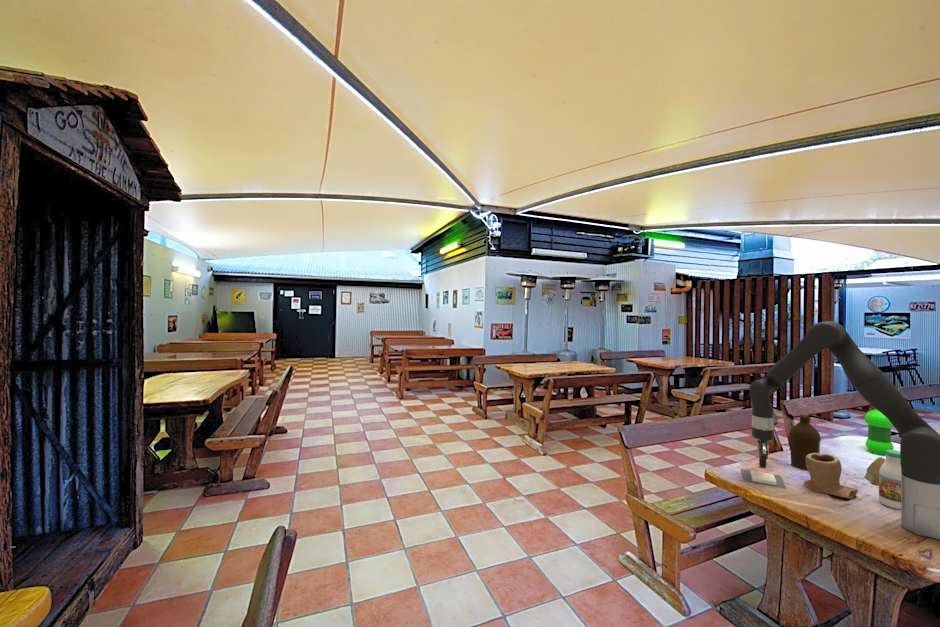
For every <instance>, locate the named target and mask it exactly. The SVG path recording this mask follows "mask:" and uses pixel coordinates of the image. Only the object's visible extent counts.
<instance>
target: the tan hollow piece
mask: <svg viewBox="0 0 940 627" xmlns="http://www.w3.org/2000/svg"><path fill="white" fill-rule="evenodd" d="M805 461H806V467H807V470H808V471H807V470H806V471H807V472H808V474H809V476H810V479H806V480H805V481H803V485H804V486H805V488H808V489H810V490H814V491H817V492H821V493H824V494H828V495H831V496H835V497H839V498H844V499H849V500H850V499H853V498H855V496H857V493H858V492H859V490H858V488H854V487H850V486H845V485H841V483H840V478H841V475H842V464H841V461H840V460H839V458H838V457H837V456H834V455H833V454H830V453H820V454H819V453H811V454H808V455H807V456H806V458H805Z"/></svg>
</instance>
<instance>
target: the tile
mask: <svg viewBox="0 0 940 627" xmlns="http://www.w3.org/2000/svg"><path fill="white" fill-rule="evenodd" d="M756 471H757V470H751V471H750V475H751V479H752V481H753V482H758V483H764V484H769V485H774V486H776V485H777V482H776V479H775V477H774V475H775V474H774V475H773V473H768V472H762V471H757V472H756Z"/></svg>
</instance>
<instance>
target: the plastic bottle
mask: <svg viewBox="0 0 940 627" xmlns="http://www.w3.org/2000/svg"><path fill="white" fill-rule="evenodd" d="M864 422H865V423H866V424H867V425H868V426H867V434H868V435H867V436H868V437H867V439H866V441H865V447H866V448H867V449H868V450H869V451H871V453H873V454H876V455H880V456H882V455H883V456H885V455H886V454H885V451H886V450H894V446H895V445H894V444H893V442H892V440H891V439H892V438H891V437H892V428H893V427H894V426H893V424H892V423H891V422H890V421H889V420H888V419H887V417H886V416H884V415H883V414H882V413H881V412H880V411H878V410H877V409H876V408H874V409H872V410H870V411H868V412H866V413H865V415H864Z"/></svg>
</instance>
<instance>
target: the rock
mask: <svg viewBox="0 0 940 627" xmlns="http://www.w3.org/2000/svg"><path fill="white" fill-rule="evenodd" d="M885 460H886V458H884V457H880V456H879V457H877V458H876V459H874V461H873V462H871V464H869V465H868V467H867V468H866V473H865V476H864V477H865V479H867V480H868V481H869V482H870V483H871V484H873V485H877V486H879V471H880V468H881V466H882V464H883V463H884V462H885Z"/></svg>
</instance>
